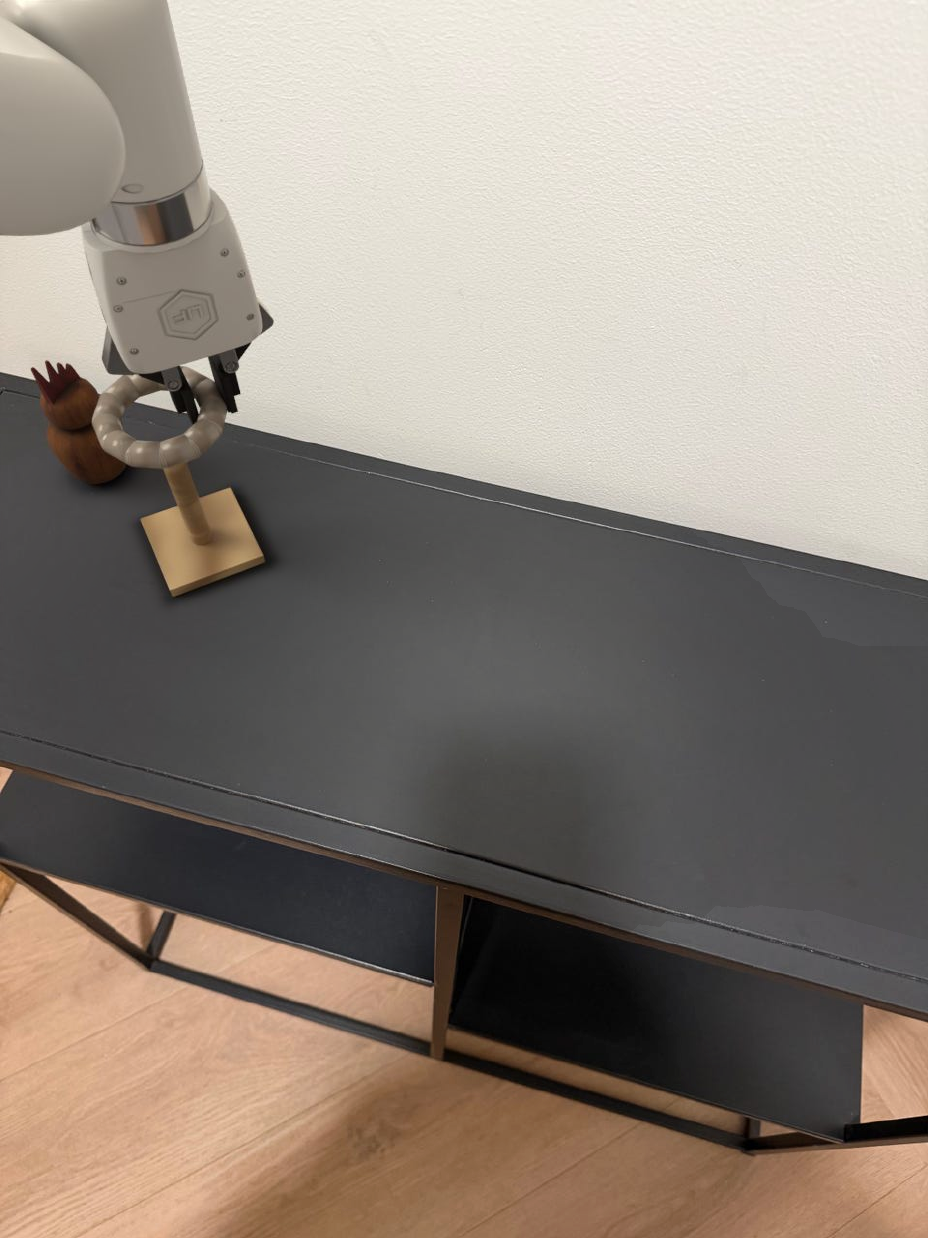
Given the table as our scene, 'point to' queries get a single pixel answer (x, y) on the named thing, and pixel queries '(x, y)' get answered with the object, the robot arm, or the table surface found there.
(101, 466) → the wooden figurine
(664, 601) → the table surface
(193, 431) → the ring
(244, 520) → the post
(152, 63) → the robot arm
